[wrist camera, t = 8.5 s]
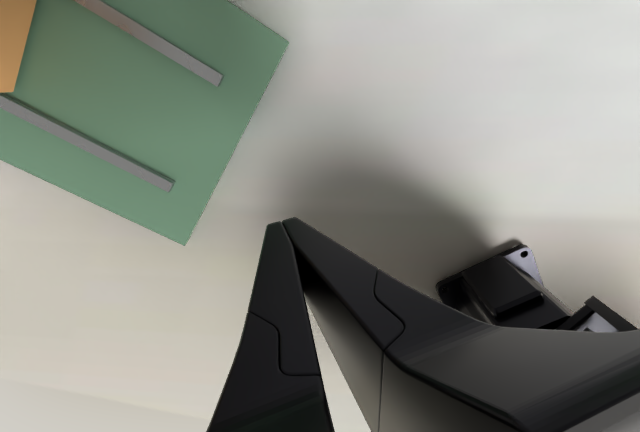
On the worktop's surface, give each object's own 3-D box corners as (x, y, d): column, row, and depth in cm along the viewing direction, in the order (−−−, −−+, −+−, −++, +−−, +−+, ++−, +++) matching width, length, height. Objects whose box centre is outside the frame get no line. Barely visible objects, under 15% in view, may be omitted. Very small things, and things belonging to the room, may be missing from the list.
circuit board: (289, 43, 17) (288, 41, 16) (187, 241, 21) (184, 245, 20) (-258, -324, 12) (-285, -344, 11) (-252, 33, 16) (-273, 31, 15)
